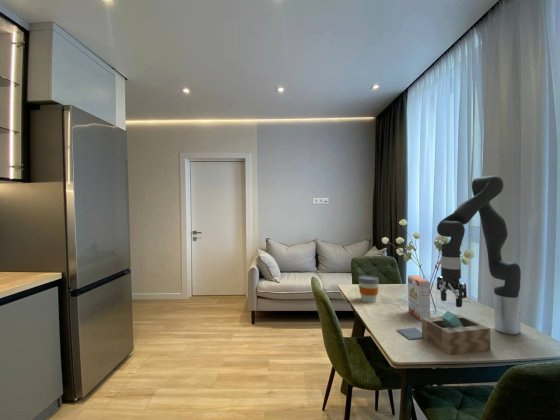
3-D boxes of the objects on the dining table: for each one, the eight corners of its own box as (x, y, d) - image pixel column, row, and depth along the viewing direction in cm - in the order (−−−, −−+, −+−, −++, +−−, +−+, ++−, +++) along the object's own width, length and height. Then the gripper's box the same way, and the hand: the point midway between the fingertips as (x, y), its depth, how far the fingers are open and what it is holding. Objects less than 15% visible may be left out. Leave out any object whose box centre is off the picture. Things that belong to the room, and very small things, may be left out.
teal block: (457, 340, 128) (464, 334, 129) (466, 345, 124) (472, 338, 124) (441, 316, 127) (447, 310, 127) (448, 320, 122) (455, 314, 123)
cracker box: (407, 311, 165) (407, 275, 165) (418, 311, 165) (417, 274, 165) (419, 320, 151) (418, 281, 151) (430, 320, 151) (430, 281, 151)
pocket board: (459, 333, 135) (459, 314, 135) (490, 349, 119) (490, 328, 119) (421, 337, 131) (421, 318, 131) (448, 355, 116) (448, 332, 116)
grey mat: (415, 328, 141) (415, 327, 141) (429, 337, 131) (429, 336, 131) (396, 330, 139) (396, 329, 139) (409, 340, 129) (409, 338, 129)
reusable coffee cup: (380, 304, 178) (380, 280, 178) (359, 303, 180) (359, 279, 180) (377, 297, 190) (376, 275, 190) (357, 297, 192) (357, 274, 192)
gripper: (471, 269, 119) (472, 308, 119) (446, 263, 133) (446, 298, 133) (456, 270, 117) (456, 310, 117) (431, 264, 131) (431, 299, 131)
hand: (451, 303), depth 125 cm, fingers open, 8 cm apart
